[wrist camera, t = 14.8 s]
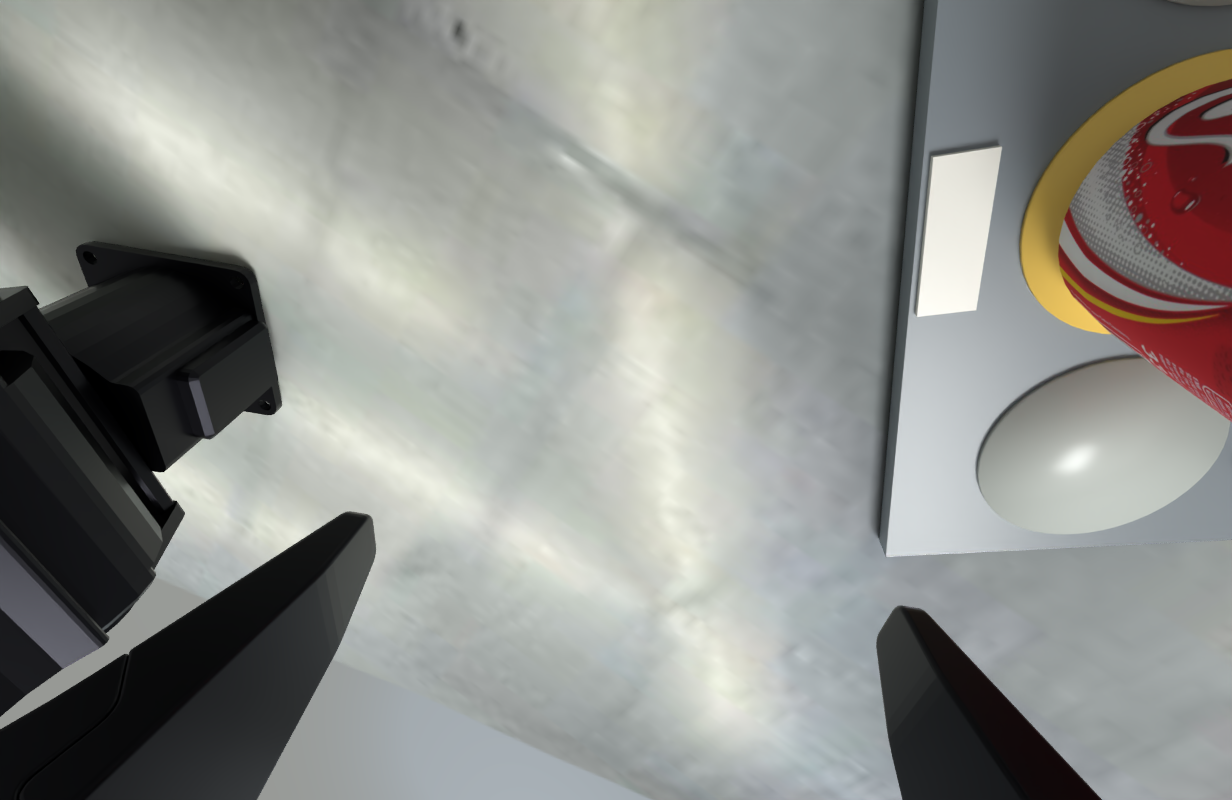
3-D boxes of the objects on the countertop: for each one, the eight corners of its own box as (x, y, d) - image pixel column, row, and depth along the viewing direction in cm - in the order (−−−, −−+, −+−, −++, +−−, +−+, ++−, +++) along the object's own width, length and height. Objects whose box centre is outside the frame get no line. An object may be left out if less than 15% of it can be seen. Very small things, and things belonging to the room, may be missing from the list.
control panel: (1241, 520, 24) (1288, 561, 22) (879, 539, 26) (894, 578, 24) (1897, -748, 9) (2191, -933, 8) (962, -452, 12) (1014, -539, 10)
